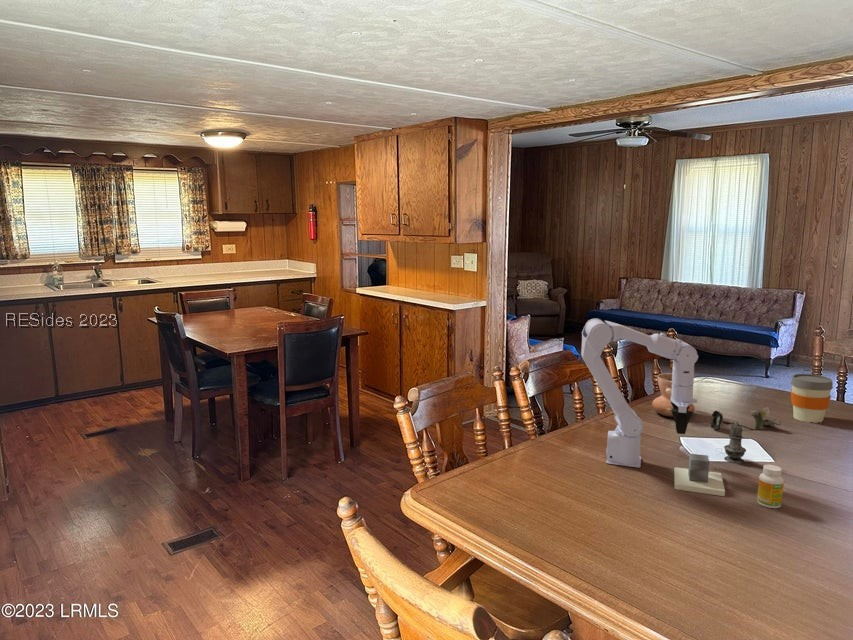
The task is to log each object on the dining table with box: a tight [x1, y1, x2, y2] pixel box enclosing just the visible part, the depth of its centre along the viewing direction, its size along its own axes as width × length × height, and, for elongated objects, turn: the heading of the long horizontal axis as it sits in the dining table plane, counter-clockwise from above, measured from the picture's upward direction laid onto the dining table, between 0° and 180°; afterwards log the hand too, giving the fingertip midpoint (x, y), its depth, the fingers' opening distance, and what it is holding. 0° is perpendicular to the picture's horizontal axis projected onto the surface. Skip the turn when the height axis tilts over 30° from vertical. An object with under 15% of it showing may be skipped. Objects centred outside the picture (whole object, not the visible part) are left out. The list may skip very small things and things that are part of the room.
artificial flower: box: [710, 406, 783, 431], centre depth 205 cm, size 9×22×10 cm, turn 88°
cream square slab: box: [673, 466, 726, 497], centre depth 164 cm, size 12×12×2 cm
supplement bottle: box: [756, 464, 785, 509], centre depth 151 cm, size 5×5×10 cm
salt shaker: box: [723, 421, 747, 464], centre depth 178 cm, size 6×6×12 cm
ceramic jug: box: [651, 372, 696, 418], centre depth 220 cm, size 18×14×14 cm
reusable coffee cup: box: [790, 373, 834, 424], centre depth 214 cm, size 13×13×15 cm
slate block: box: [688, 453, 710, 483], centre depth 163 cm, size 4×4×6 cm
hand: (680, 429), depth 176 cm, fingers open, 7 cm apart
